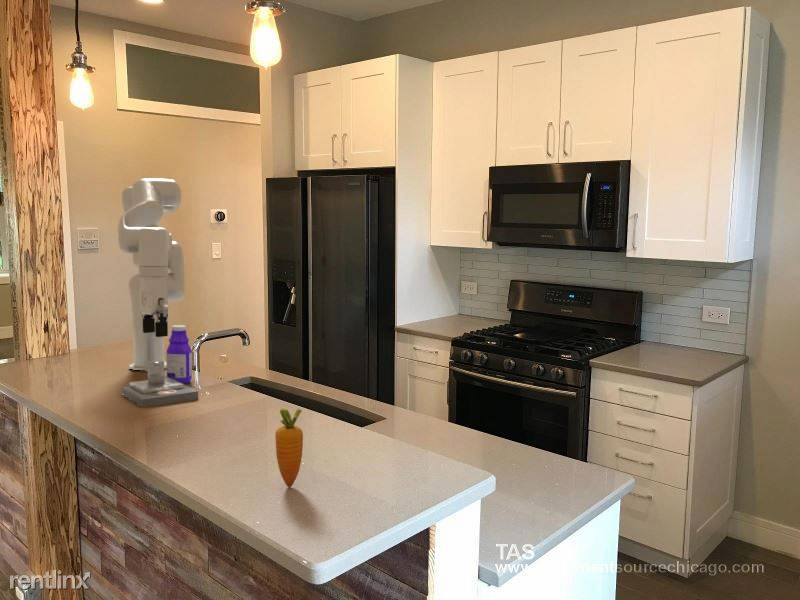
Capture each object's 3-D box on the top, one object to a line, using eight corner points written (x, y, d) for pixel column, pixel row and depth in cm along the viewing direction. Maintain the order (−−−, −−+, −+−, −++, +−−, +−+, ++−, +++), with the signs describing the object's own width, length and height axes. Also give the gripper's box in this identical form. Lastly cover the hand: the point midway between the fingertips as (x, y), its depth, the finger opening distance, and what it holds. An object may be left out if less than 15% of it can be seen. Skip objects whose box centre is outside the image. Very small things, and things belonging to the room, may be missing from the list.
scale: (122, 394, 187) (121, 385, 187) (174, 387, 197) (174, 378, 197) (143, 407, 174) (142, 397, 174) (198, 398, 184) (198, 389, 184)
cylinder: (145, 383, 187) (145, 361, 187) (161, 380, 190) (160, 360, 190) (151, 385, 184) (150, 364, 183) (167, 383, 187) (166, 362, 186)
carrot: (304, 482, 125) (304, 403, 124) (301, 492, 120) (301, 411, 119) (277, 482, 125) (277, 403, 123) (273, 492, 120) (273, 411, 118)
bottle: (195, 380, 205) (193, 324, 204) (187, 385, 200) (186, 327, 198) (172, 379, 206) (171, 324, 204) (164, 384, 201) (162, 326, 199)
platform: (129, 385, 188) (129, 382, 188) (168, 380, 195) (168, 377, 195) (143, 393, 180) (143, 390, 180) (183, 387, 187) (183, 384, 187)
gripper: (129, 271, 188) (130, 332, 190) (151, 274, 175) (152, 339, 176) (155, 271, 193) (157, 330, 194) (179, 273, 180) (180, 336, 181)
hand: (155, 334), depth 185 cm, fingers open, 9 cm apart
